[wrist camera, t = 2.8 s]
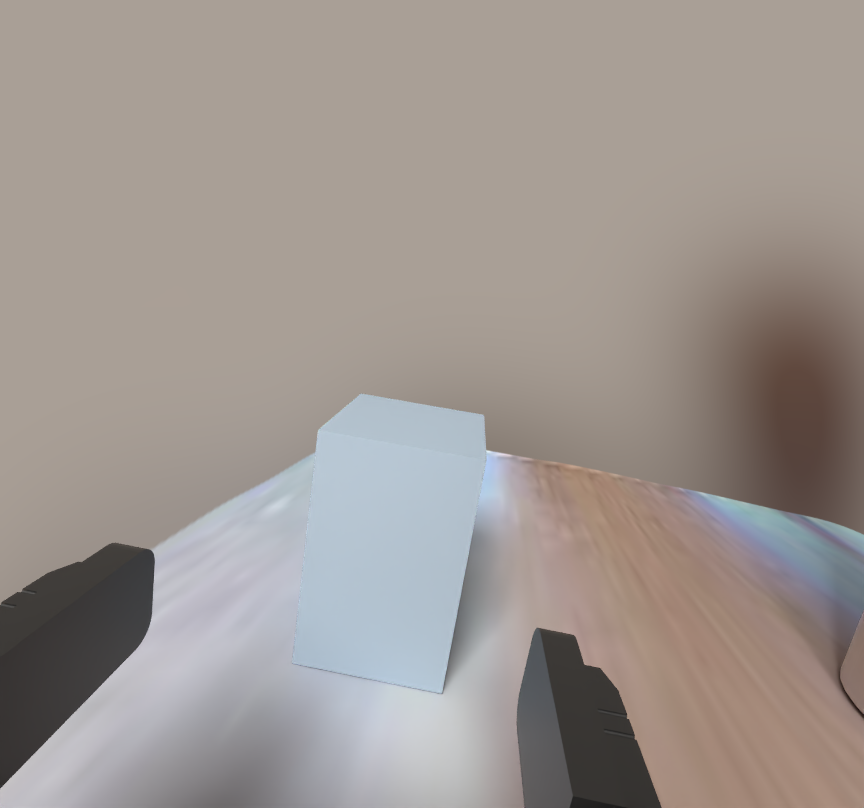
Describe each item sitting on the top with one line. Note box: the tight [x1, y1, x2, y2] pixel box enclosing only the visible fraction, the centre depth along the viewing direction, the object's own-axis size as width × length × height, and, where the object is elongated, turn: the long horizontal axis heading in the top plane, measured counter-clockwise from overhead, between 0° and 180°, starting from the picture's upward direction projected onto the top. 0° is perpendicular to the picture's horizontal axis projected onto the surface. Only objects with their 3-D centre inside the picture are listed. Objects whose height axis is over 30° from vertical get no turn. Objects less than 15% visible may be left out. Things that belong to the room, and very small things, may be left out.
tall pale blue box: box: [292, 394, 487, 694], centre depth 23 cm, size 7×6×10 cm
